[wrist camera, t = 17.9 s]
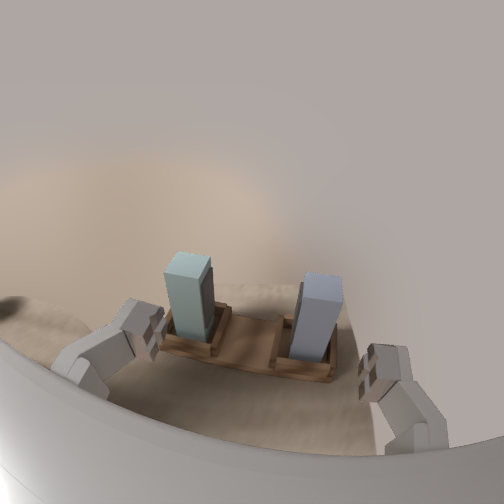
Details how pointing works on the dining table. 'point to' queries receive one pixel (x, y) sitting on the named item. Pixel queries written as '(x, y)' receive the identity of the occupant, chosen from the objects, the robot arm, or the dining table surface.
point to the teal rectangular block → (191, 295)
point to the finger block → (315, 316)
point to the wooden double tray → (252, 346)
